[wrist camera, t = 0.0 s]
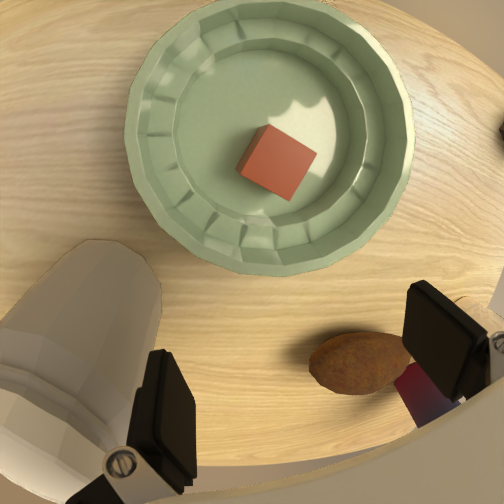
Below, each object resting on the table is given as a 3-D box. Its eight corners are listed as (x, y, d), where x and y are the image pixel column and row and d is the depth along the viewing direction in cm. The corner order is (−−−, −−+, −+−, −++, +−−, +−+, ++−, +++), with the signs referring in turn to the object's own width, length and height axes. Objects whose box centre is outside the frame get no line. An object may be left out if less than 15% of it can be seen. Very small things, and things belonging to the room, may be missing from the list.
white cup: (457, 285, 29) (511, 327, 20) (482, 297, 31) (528, 334, 22) (426, 339, 31) (470, 388, 22) (455, 344, 33) (494, 385, 24)
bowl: (102, 143, 19) (67, 145, 13) (264, -9, 16) (281, -46, 10) (266, 284, 25) (281, 324, 19) (404, 142, 22) (450, 148, 16)
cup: (402, 358, 32) (465, 442, 18) (436, 354, 33) (495, 425, 19) (380, 395, 34) (429, 477, 20) (414, 389, 35) (462, 460, 21)
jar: (146, 221, 22) (30, 412, 5) (178, 325, 25) (166, 524, 9) (48, 247, 21) (-85, 386, 4) (88, 338, 25) (27, 498, 8)
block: (234, 169, 21) (239, 174, 17) (259, 126, 20) (268, 123, 16) (277, 192, 22) (289, 202, 18) (301, 151, 21) (317, 153, 17)
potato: (386, 357, 31) (414, 395, 25) (295, 374, 29) (313, 423, 23) (400, 309, 28) (436, 346, 22) (301, 324, 27) (325, 374, 21)
